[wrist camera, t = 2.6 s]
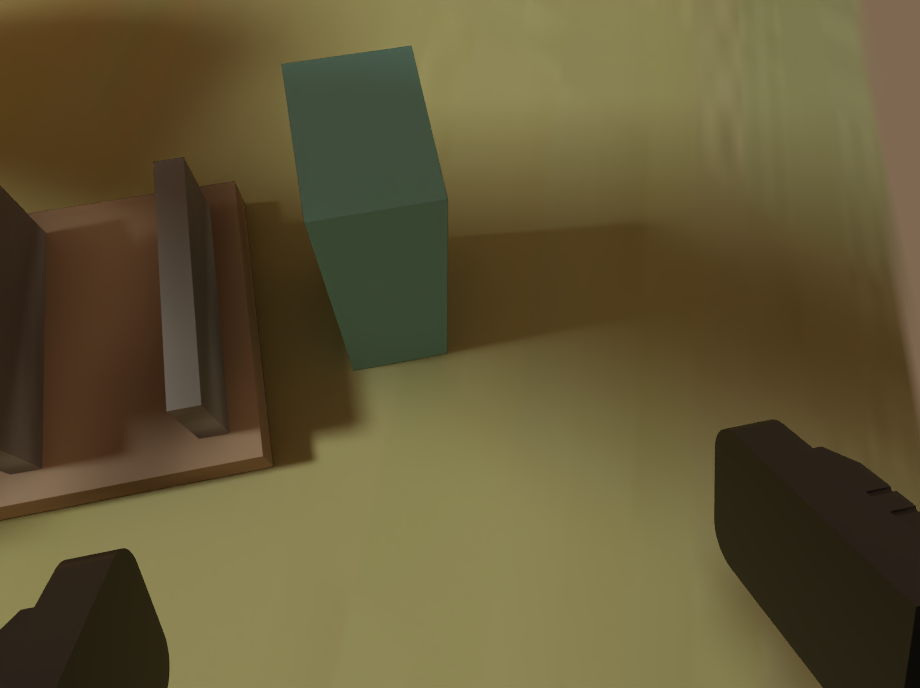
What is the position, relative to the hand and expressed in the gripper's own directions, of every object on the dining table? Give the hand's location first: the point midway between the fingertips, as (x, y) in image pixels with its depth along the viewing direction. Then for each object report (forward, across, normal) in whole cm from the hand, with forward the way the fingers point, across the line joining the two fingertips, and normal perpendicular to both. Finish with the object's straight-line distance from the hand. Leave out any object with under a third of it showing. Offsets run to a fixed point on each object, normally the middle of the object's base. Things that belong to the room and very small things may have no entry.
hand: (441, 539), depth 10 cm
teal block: (+18, 0, +3) cm, 18 cm away
